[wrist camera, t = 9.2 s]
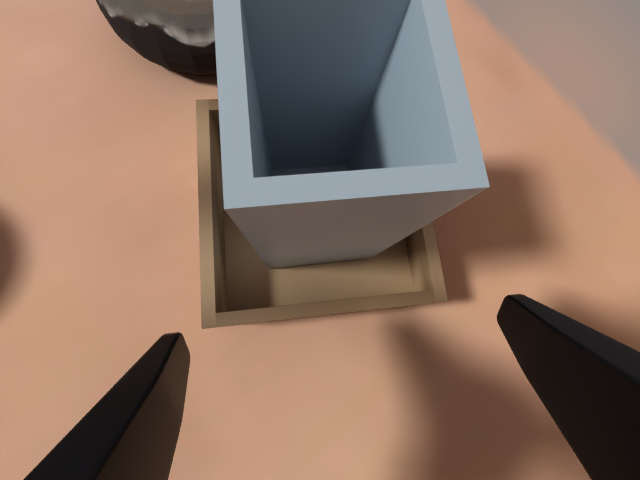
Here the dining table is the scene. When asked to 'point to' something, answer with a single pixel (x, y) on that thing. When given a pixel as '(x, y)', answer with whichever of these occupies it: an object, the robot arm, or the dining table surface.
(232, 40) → the tall grey bin
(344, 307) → the shallow brown tray
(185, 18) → the donut
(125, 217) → the dining table surface
